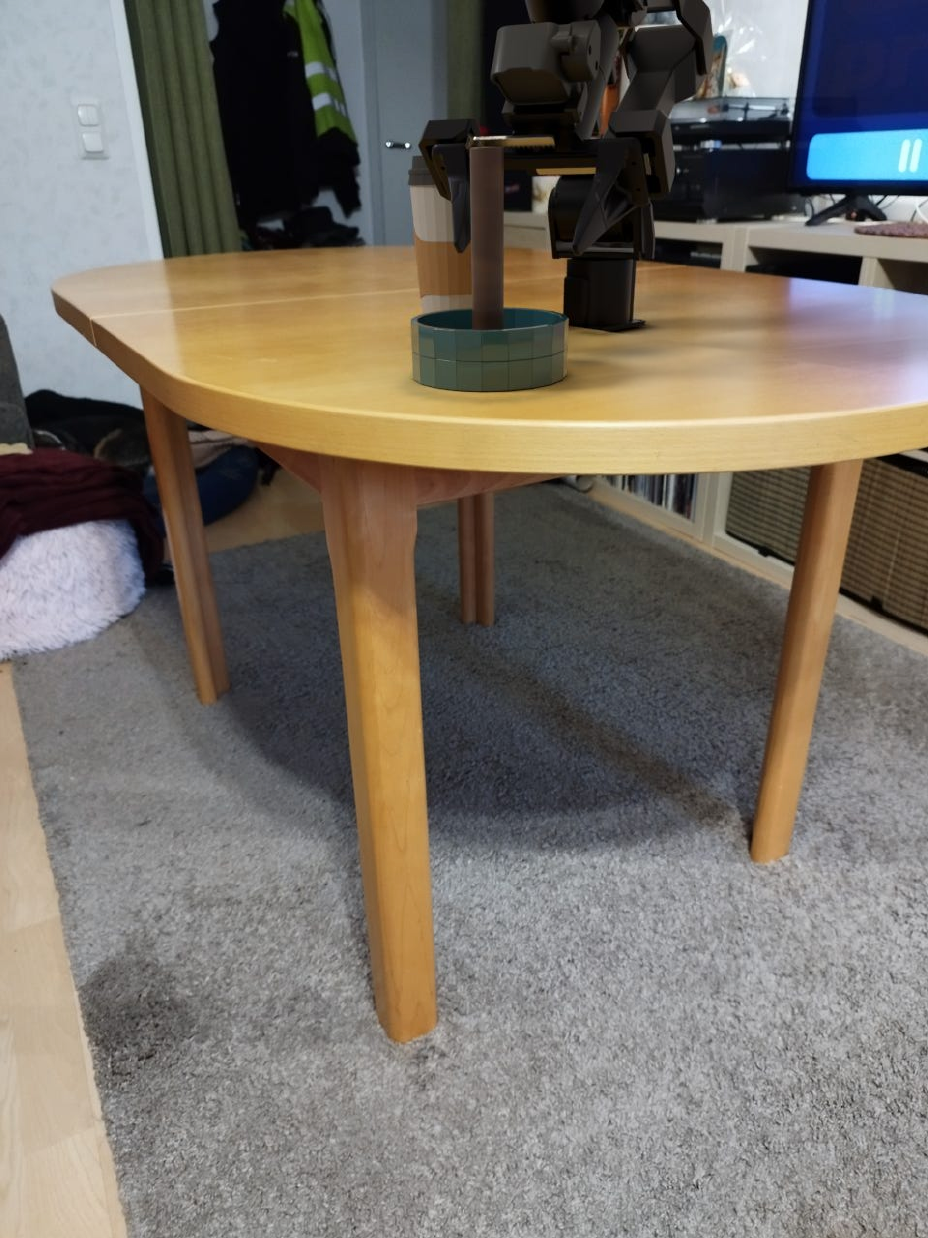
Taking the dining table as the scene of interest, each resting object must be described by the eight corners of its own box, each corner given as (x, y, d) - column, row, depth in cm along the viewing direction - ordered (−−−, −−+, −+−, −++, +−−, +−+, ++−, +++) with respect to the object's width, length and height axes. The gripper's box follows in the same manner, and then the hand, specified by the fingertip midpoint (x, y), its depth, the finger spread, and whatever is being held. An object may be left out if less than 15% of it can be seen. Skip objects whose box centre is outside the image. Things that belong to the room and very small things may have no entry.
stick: (492, 366, 67) (490, 147, 60) (531, 374, 64) (534, 145, 57) (445, 374, 65) (439, 148, 58) (484, 383, 61) (481, 145, 55)
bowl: (497, 362, 71) (497, 303, 69) (597, 383, 64) (601, 317, 62) (383, 382, 65) (380, 318, 63) (479, 408, 58) (478, 336, 56)
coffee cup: (493, 340, 81) (492, 153, 74) (404, 338, 82) (395, 155, 75) (507, 325, 88) (507, 154, 81) (425, 324, 89) (419, 156, 83)
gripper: (423, -7, 65) (357, 166, 61) (680, -34, 58) (624, 159, 54) (470, 120, 75) (416, 275, 71) (694, 110, 68) (647, 282, 64)
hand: (515, 250), depth 65 cm, fingers open, 9 cm apart
